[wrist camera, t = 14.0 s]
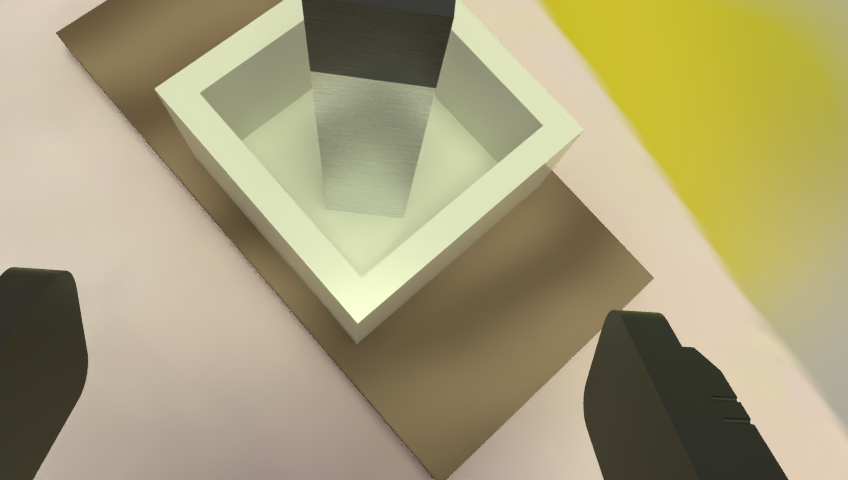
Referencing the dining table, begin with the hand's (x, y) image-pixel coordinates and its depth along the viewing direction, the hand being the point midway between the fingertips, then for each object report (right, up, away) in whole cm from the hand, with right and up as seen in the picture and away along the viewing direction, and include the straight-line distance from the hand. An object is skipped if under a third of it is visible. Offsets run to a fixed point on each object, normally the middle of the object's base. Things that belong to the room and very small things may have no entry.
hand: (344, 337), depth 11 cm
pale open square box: (-1, +4, +18) cm, 18 cm away
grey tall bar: (-1, +4, +17) cm, 17 cm away
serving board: (-2, +5, +19) cm, 20 cm away
